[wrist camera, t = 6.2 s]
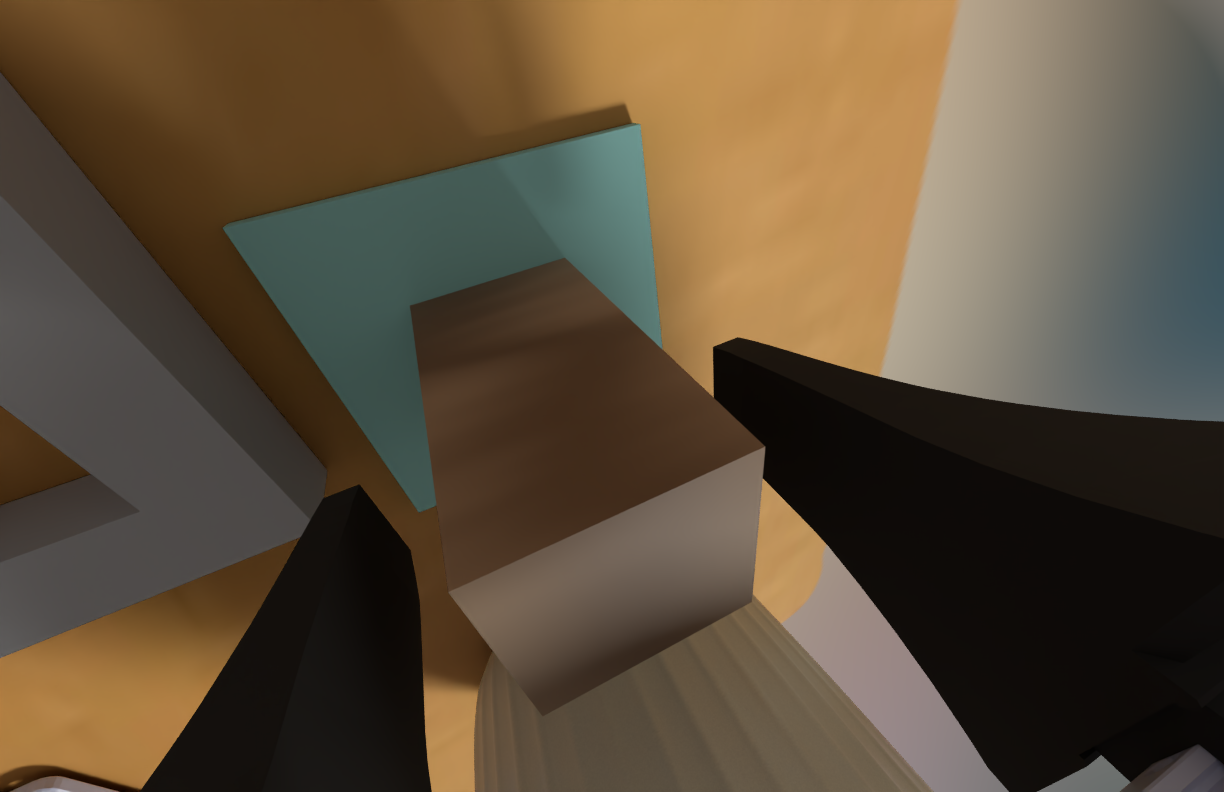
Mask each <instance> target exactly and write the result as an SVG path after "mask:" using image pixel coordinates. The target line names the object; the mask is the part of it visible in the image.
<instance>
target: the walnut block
mask: <svg viewBox="0 0 1224 792" xmlns="http://www.w3.org/2000/svg"><path fill="white" fill-rule="evenodd" d="M410 311H411V318H412V326H413V333H414V341H415V348H416V356H417V363H418V371H419V378H420V386H421V393H422V400H423V408H424V415H425V423H426V430H427V438H428V445H429V453H430V460H431V468H432V475H433V483H434V490H435V498H436V505H437V513H438V520H439V527H440V535H441V542H442V550H443V557H444V565H445V572H446V580H447V587H448V593H449V594H450V595H451V597H452V598H453V599H454V601H455V602H456V603H457V605H458V606H459V607H460V608H461V610H462V611H463V612H464V614H465V615H466V616H467V618H468V619H469V620H470V622H471V623H472V624H473V626H474V627H475V628H476V630H477V631H478V632H479V633H480V635H481V636H482V637H483V639H484V640H485V641H486V643H487V644H488V645H489V647H490V648H491V649H492V651H493V652H494V653H495V654H496V656H497V657H498V658H499V660H500V661H501V662H502V664H503V665H504V666H505V668H506V669H507V670H508V672H509V673H510V674H511V675H512V677H513V678H514V679H515V681H516V682H517V683H518V685H519V686H520V687H521V689H522V690H523V691H524V693H525V694H526V695H527V697H528V698H529V699H530V700H531V702H532V703H533V704H534V706H535V707H536V708H537V710H538V711H539V712H540V714H541V715H542V716H545V715H546V714H548V713H550V712H552V711H554V710H556V709H557V708H559V707H561V706H563V705H565V704H567V703H568V702H570V701H572V700H574V699H576V698H578V697H579V696H581V695H583V694H585V693H587V692H588V691H590V690H592V689H594V688H596V687H598V686H599V685H601V684H603V683H605V682H607V681H609V680H610V679H612V678H614V677H616V676H618V675H620V674H621V673H623V672H625V671H627V670H629V669H630V668H632V667H634V666H636V665H638V664H640V663H641V662H643V661H645V660H647V659H649V658H651V657H652V656H654V655H656V654H658V653H660V652H661V651H663V650H665V649H667V648H669V647H671V646H672V645H674V644H676V643H678V642H680V641H682V640H683V639H685V638H687V637H689V636H691V635H693V634H694V633H696V632H698V631H700V630H702V629H703V628H705V627H707V626H709V625H711V624H713V623H714V622H716V621H718V620H720V619H722V618H724V617H725V616H727V615H729V614H731V613H733V612H734V611H736V610H738V609H740V608H742V607H744V606H745V605H747V604H749V603H751V602H752V594H753V582H754V571H755V560H756V548H757V537H758V525H759V514H760V502H761V491H762V479H763V468H764V456H765V446H764V445H763V444H762V443H761V442H760V441H759V440H758V439H757V438H756V437H755V436H754V435H753V434H751V433H750V432H749V431H748V430H747V429H746V428H745V427H744V426H743V425H742V424H741V423H740V422H739V421H738V420H737V419H736V418H734V417H733V416H732V415H731V414H730V413H729V412H728V411H727V410H726V409H725V408H724V407H723V406H722V405H721V404H720V403H719V402H718V401H716V400H715V399H714V398H713V397H712V396H711V395H710V394H709V393H708V392H707V391H706V390H705V389H704V388H703V387H702V386H701V385H699V384H698V383H697V382H696V381H695V380H694V379H693V378H692V377H691V376H690V375H689V374H688V373H687V372H686V371H685V370H684V369H683V368H681V367H680V366H679V365H678V364H677V363H676V362H675V361H674V360H673V359H672V358H671V357H670V356H669V355H668V354H667V353H666V352H665V351H663V350H662V349H661V348H660V347H659V346H658V345H657V344H656V343H655V342H654V341H653V340H652V339H651V338H650V337H649V336H648V335H646V334H645V333H644V332H643V331H642V330H641V329H640V328H639V327H638V326H637V325H636V324H635V323H634V322H633V321H632V320H631V319H630V318H628V317H627V316H626V315H625V314H624V313H623V312H622V311H621V310H620V309H619V308H618V307H617V306H616V305H615V304H614V303H613V302H612V301H610V300H609V299H608V298H607V297H606V296H605V295H604V294H603V293H602V292H601V291H600V290H599V289H598V288H597V287H596V286H595V285H593V284H592V283H591V282H590V281H589V280H588V279H587V278H586V277H585V276H584V275H583V274H582V273H581V272H580V271H579V270H578V269H577V268H575V267H574V266H573V265H572V264H571V263H570V262H569V261H568V260H567V259H566V258H562V259H559V260H556V261H552V262H549V263H546V264H543V265H540V266H536V267H533V268H530V269H527V270H523V271H520V272H517V273H514V274H511V275H507V276H504V277H501V278H498V279H494V280H491V281H488V282H485V283H481V284H478V285H475V286H472V287H469V288H465V289H462V290H459V291H456V292H452V293H449V294H446V295H443V296H439V297H436V298H433V299H430V300H427V301H423V302H420V303H417V304H414V305H410Z"/></svg>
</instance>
